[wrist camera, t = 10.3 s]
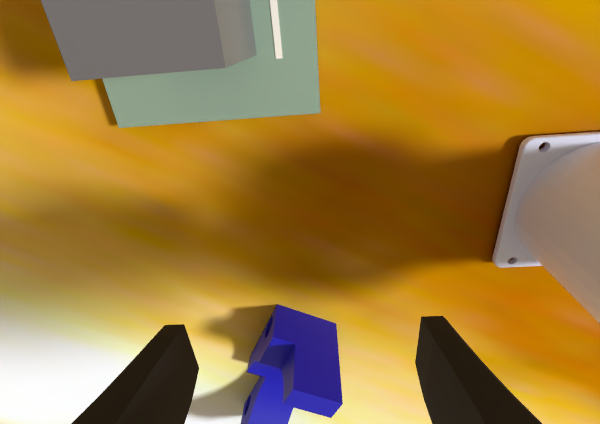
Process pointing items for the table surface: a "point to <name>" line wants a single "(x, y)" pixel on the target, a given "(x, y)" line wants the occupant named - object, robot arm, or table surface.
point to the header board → (234, 77)
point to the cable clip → (294, 369)
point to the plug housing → (149, 35)
